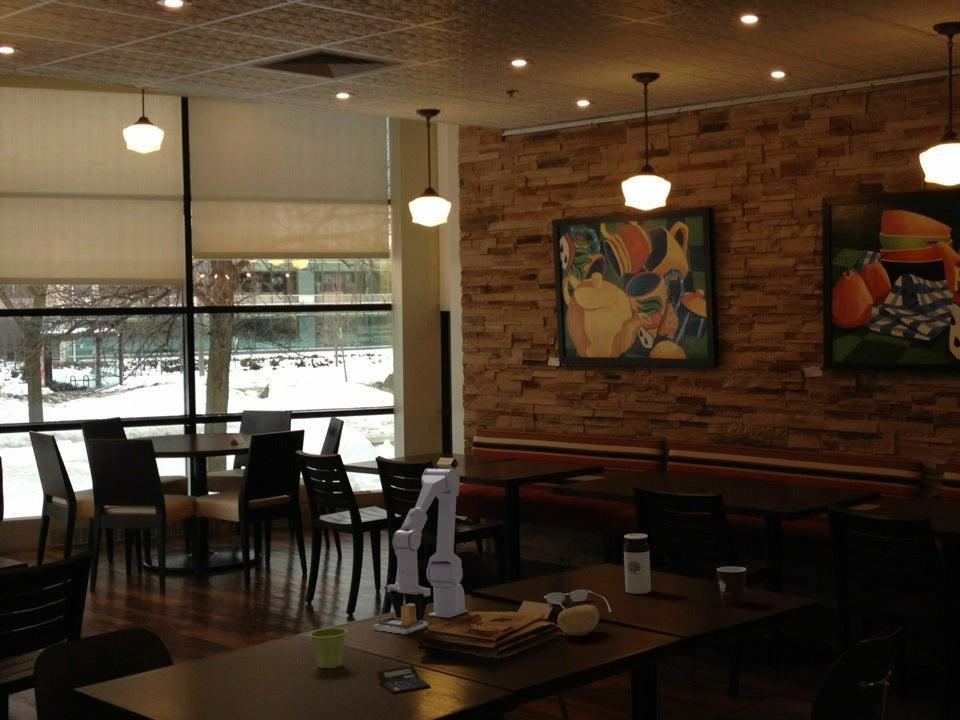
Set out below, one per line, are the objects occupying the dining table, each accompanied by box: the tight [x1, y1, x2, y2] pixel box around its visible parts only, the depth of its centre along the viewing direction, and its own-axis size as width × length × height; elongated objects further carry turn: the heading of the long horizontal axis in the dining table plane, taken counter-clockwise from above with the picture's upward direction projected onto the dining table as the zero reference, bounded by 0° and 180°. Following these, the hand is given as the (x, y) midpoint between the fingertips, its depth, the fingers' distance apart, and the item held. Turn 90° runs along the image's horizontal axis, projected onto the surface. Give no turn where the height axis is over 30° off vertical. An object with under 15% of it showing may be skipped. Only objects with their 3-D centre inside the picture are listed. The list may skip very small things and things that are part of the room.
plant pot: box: [309, 627, 348, 670], centre depth 302 cm, size 9×9×9 cm
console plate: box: [373, 616, 429, 635], centre depth 339 cm, size 10×12×2 cm
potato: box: [557, 604, 600, 637], centre depth 323 cm, size 10×14×8 cm
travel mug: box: [623, 533, 652, 595], centre depth 375 cm, size 8×8×18 cm
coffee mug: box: [715, 566, 747, 606], centre depth 356 cm, size 12×9×10 cm
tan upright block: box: [401, 602, 418, 626], centre depth 337 cm, size 4×3×6 cm
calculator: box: [376, 665, 431, 695], centre depth 283 cm, size 9×12×3 cm
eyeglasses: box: [543, 589, 612, 613], centre depth 355 cm, size 15×18×4 cm
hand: (409, 618), depth 337 cm, fingers open, 7 cm apart
